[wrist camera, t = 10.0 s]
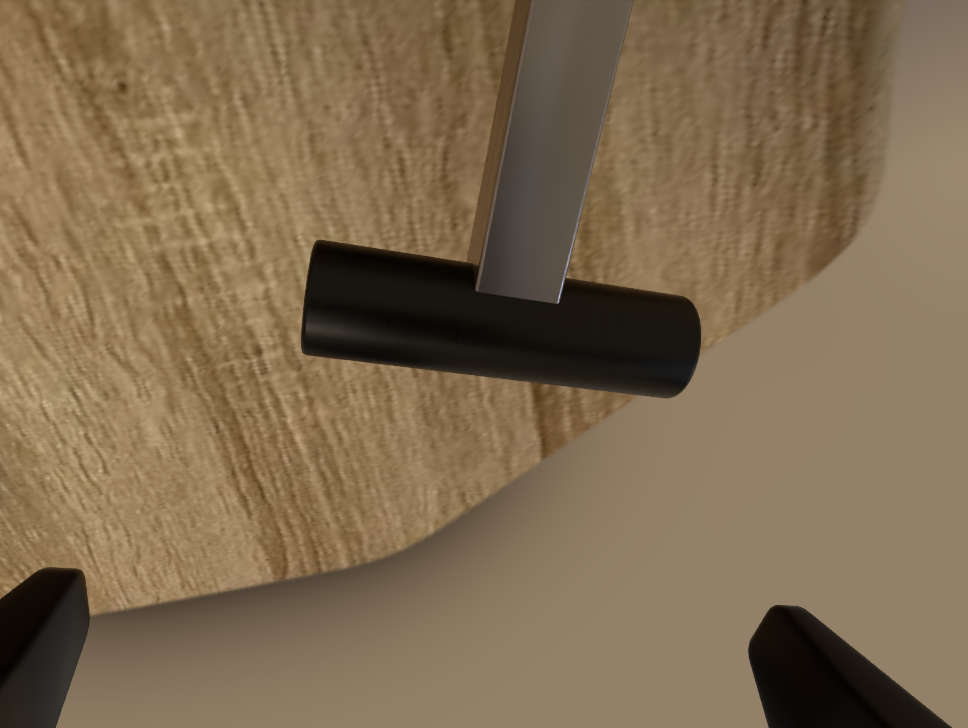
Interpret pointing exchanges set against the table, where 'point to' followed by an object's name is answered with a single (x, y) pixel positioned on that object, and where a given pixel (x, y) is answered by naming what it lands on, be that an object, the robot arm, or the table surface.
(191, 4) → the table surface
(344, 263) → the lever
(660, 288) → the table surface
